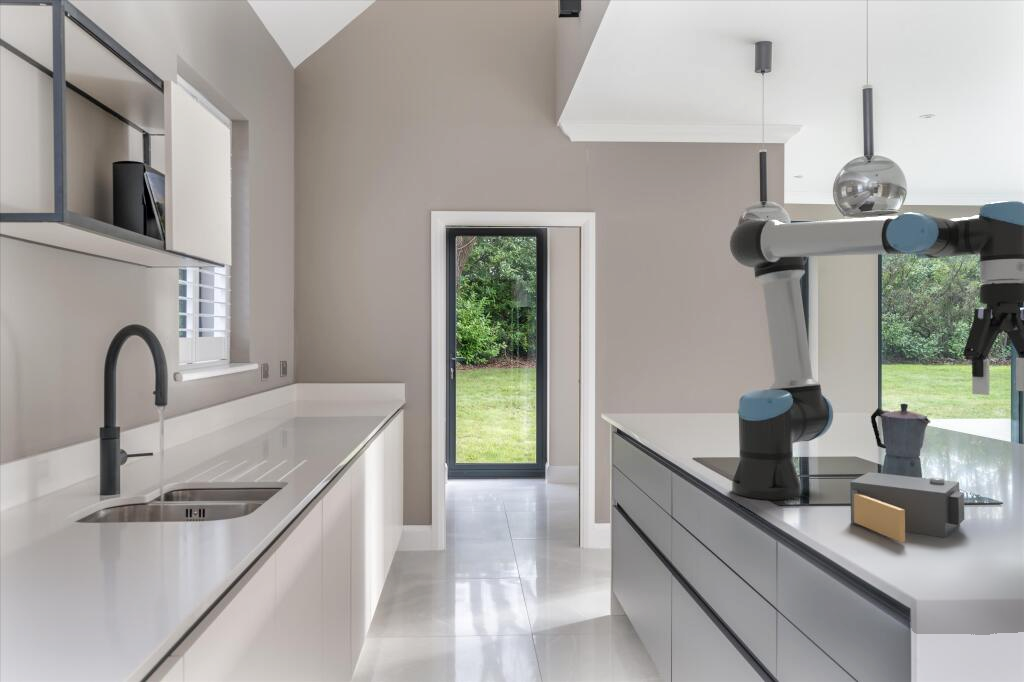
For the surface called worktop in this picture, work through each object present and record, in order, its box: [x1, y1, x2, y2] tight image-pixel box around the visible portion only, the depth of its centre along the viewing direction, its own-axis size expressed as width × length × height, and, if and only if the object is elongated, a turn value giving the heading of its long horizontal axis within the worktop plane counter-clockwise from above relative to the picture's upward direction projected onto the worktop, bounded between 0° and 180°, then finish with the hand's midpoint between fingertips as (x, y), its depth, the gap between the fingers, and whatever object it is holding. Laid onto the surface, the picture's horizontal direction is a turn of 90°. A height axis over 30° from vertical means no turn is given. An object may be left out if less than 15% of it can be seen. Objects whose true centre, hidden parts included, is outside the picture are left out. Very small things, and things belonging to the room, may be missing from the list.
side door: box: [851, 490, 906, 543], centre depth 131 cm, size 14×1×6 cm, turn 8°
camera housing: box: [849, 471, 965, 539], centre depth 137 cm, size 18×12×9 cm
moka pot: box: [870, 403, 931, 478], centre depth 168 cm, size 10×15×20 cm, turn 27°
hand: (1003, 392), depth 138 cm, fingers open, 13 cm apart
